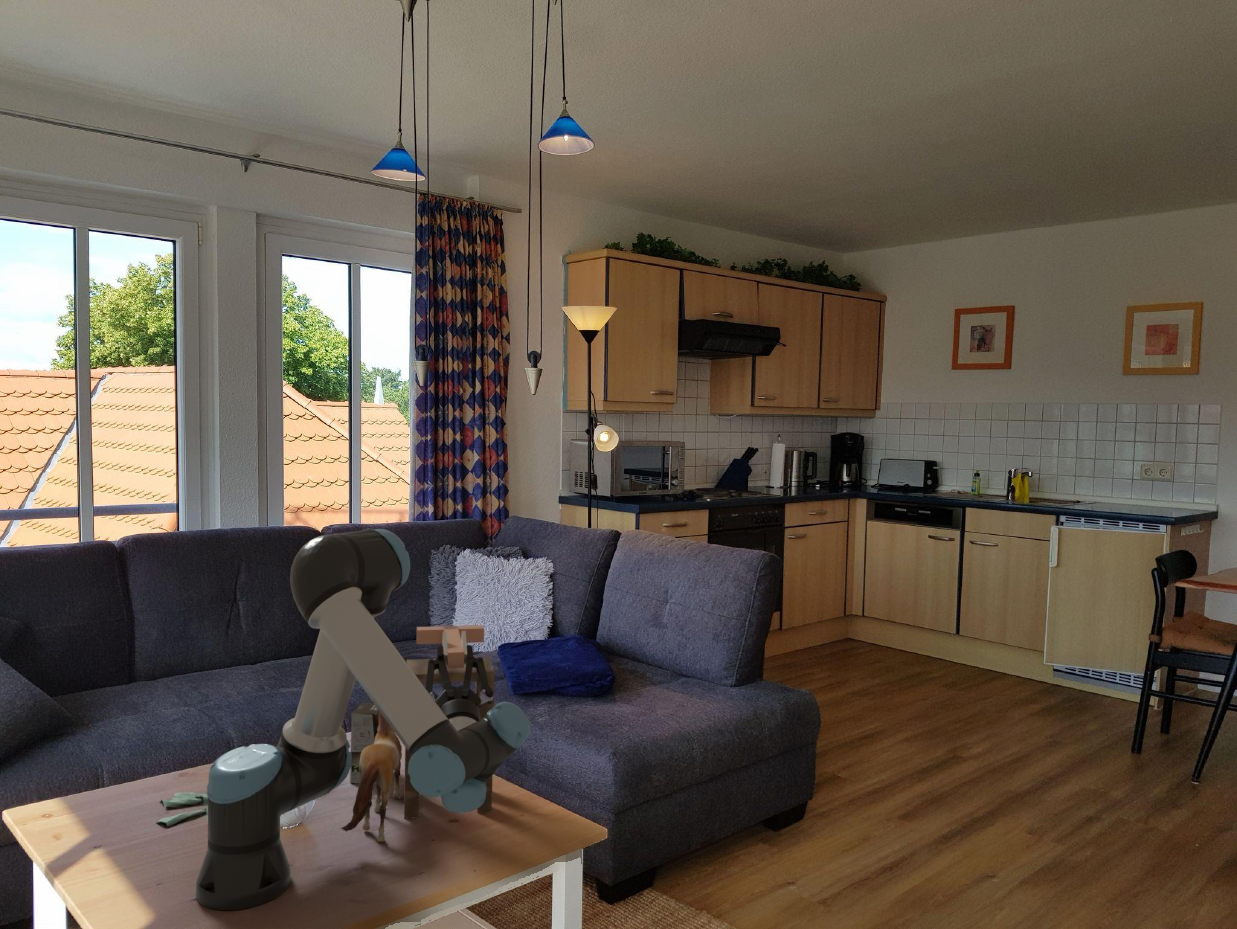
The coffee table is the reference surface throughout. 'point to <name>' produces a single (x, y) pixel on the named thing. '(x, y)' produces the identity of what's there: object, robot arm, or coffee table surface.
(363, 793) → the horse figurine
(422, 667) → the walnut table
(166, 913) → the coffee table surface
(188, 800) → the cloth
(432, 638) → the terracotta T
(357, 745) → the coffee box
